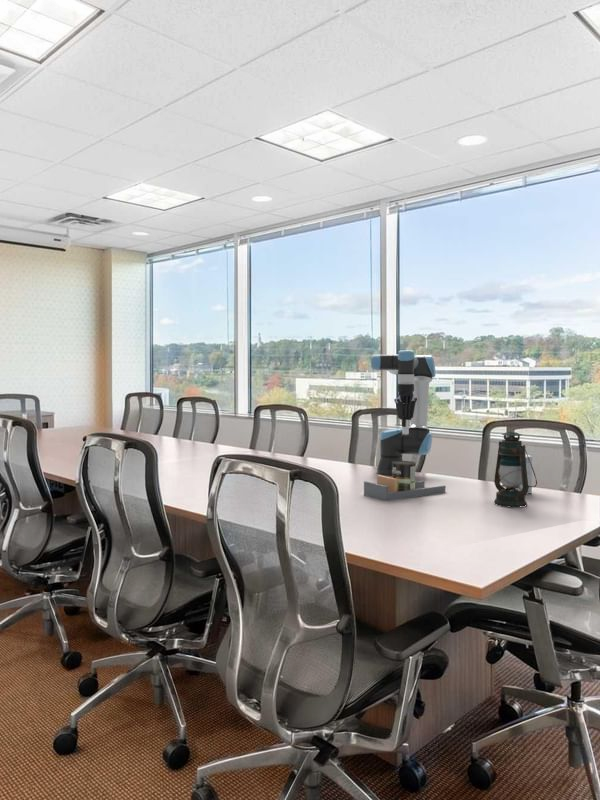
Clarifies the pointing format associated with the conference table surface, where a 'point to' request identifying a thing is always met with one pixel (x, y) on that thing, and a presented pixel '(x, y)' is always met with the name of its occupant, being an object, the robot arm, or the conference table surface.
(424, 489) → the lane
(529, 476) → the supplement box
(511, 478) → the lantern
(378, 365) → the robot arm
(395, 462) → the coffee can
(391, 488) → the block
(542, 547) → the conference table surface
